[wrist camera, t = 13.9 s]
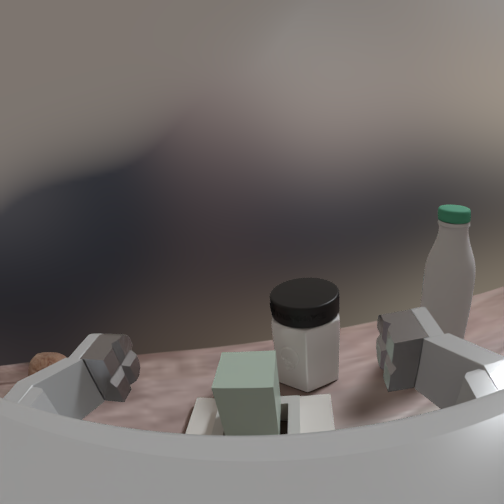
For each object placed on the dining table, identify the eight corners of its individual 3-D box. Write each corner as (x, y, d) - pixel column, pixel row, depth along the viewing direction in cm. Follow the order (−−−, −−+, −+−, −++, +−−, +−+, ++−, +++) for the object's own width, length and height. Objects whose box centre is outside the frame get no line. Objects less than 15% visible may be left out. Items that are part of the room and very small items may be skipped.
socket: (330, 400, 34) (330, 383, 33) (338, 483, 23) (341, 468, 22) (199, 404, 37) (194, 387, 36) (175, 480, 25) (166, 465, 24)
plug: (283, 425, 32) (275, 350, 28) (281, 460, 27) (273, 387, 24) (239, 426, 32) (221, 352, 29) (233, 460, 28) (211, 387, 24)
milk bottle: (469, 350, 36) (492, 213, 30) (424, 359, 38) (441, 215, 31) (450, 323, 44) (464, 200, 37) (409, 330, 45) (418, 202, 38)
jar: (263, 377, 40) (252, 299, 37) (295, 346, 46) (290, 272, 42) (322, 400, 35) (322, 316, 31) (350, 362, 41) (353, 283, 37)
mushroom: (94, 393, 39) (73, 348, 36) (75, 421, 33) (49, 375, 30) (58, 386, 40) (37, 344, 37) (39, 411, 34) (14, 367, 31)
